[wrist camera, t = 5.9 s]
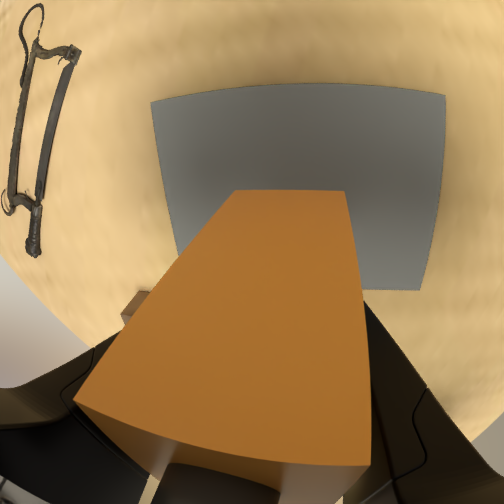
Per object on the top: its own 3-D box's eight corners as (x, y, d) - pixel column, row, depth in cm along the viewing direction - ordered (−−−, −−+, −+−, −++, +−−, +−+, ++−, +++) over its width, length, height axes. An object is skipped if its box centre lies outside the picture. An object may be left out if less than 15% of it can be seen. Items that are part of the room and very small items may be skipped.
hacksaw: (43, 258, 25) (34, 266, 24) (-5, 211, 24) (-14, 217, 23) (101, 14, 12) (87, 12, 11) (33, 2, 11) (20, 1, 10)
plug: (344, 190, 10) (355, 583, 1) (338, 283, 12) (313, 566, 3) (235, 190, 11) (27, 473, 2) (245, 278, 13) (139, 526, 4)
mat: (441, 95, 11) (445, 95, 11) (418, 285, 17) (419, 290, 17) (154, 102, 15) (150, 102, 14) (187, 275, 21) (184, 279, 20)
